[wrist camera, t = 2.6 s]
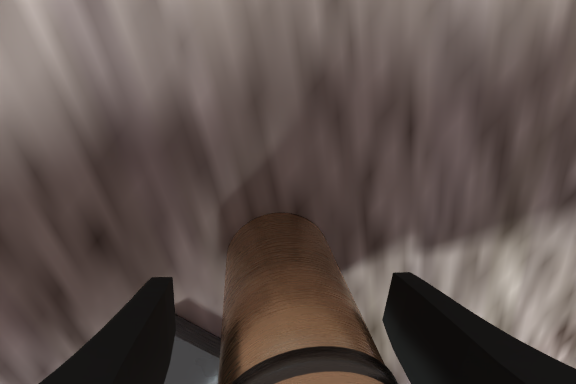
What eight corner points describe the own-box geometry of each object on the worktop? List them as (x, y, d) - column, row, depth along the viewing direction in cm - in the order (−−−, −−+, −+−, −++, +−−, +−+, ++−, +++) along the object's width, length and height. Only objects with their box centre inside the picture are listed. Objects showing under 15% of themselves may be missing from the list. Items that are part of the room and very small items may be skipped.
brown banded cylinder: (350, 249, 13) (535, 569, 5) (282, 316, 14) (342, 687, 6) (273, 189, 12) (350, 495, 3) (202, 267, 13) (128, 666, 4)
